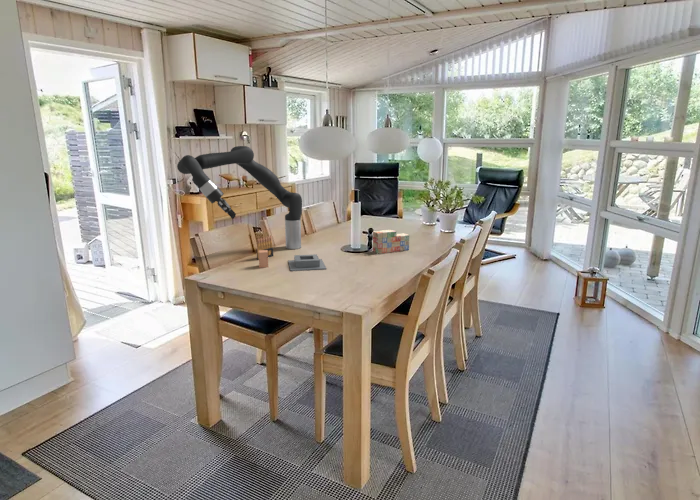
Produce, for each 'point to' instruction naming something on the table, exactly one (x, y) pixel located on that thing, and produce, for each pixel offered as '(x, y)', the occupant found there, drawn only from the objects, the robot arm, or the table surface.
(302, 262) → the socket
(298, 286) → the table surface
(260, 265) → the block
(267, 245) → the ammunition clip
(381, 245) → the stack of blocks
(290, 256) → the table surface
